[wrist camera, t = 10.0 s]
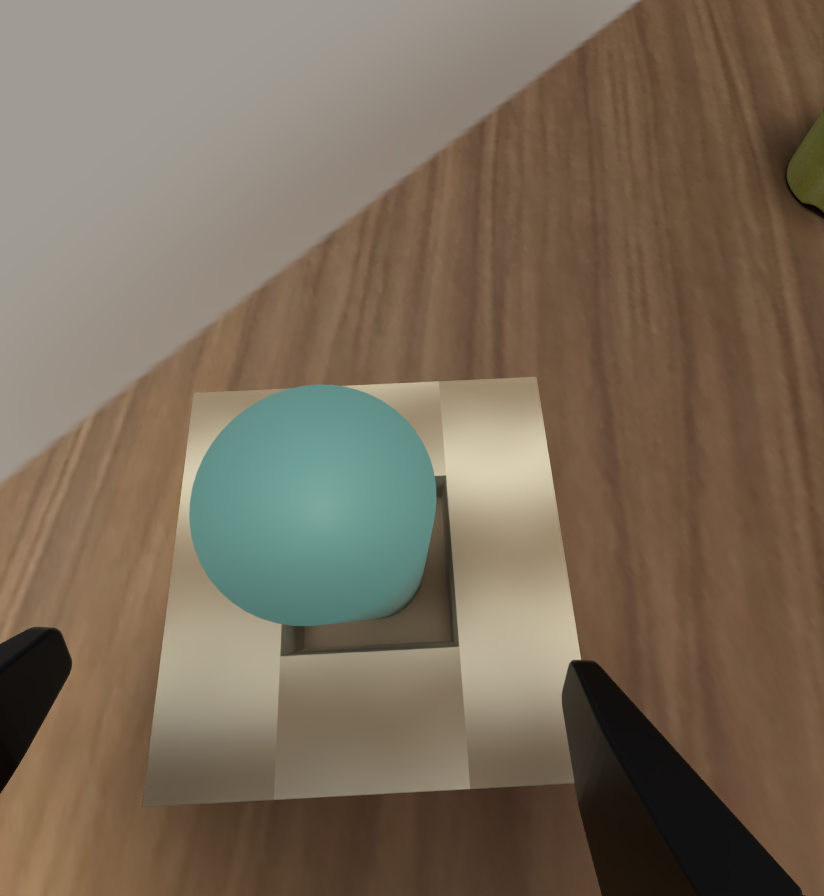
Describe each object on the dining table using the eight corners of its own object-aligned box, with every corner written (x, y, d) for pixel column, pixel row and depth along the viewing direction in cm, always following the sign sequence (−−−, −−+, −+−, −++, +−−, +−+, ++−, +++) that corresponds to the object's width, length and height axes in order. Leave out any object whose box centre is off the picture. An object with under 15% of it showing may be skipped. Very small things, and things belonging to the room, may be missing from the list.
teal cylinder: (439, 591, 19) (481, 550, 7) (352, 636, 19) (236, 677, 7) (398, 507, 21) (374, 350, 8) (315, 547, 20) (159, 442, 8)
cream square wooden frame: (561, 746, 18) (600, 781, 14) (200, 765, 18) (142, 807, 14) (516, 416, 23) (536, 377, 19) (230, 430, 22) (193, 392, 19)
